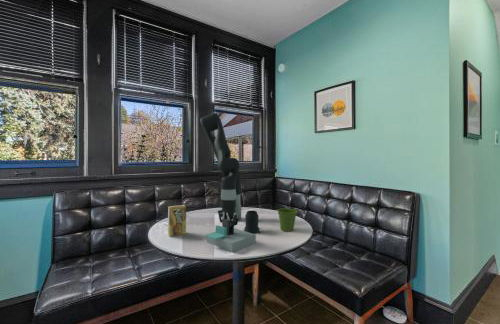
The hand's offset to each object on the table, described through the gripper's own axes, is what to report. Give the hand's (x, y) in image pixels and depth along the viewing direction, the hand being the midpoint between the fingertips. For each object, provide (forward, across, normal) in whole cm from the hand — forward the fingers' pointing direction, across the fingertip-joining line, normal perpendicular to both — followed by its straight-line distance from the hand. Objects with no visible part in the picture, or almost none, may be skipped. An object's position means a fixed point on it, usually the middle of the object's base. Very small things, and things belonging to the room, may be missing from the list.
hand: (228, 232), depth 113 cm
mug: (+5, -3, +21) cm, 22 cm away
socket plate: (+5, +2, 0) cm, 5 cm away
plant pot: (+5, +11, +36) cm, 38 cm away
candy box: (+5, -28, -12) cm, 31 cm away
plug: (+1, 0, 0) cm, 1 cm away
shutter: (0, 0, -8) cm, 8 cm away
